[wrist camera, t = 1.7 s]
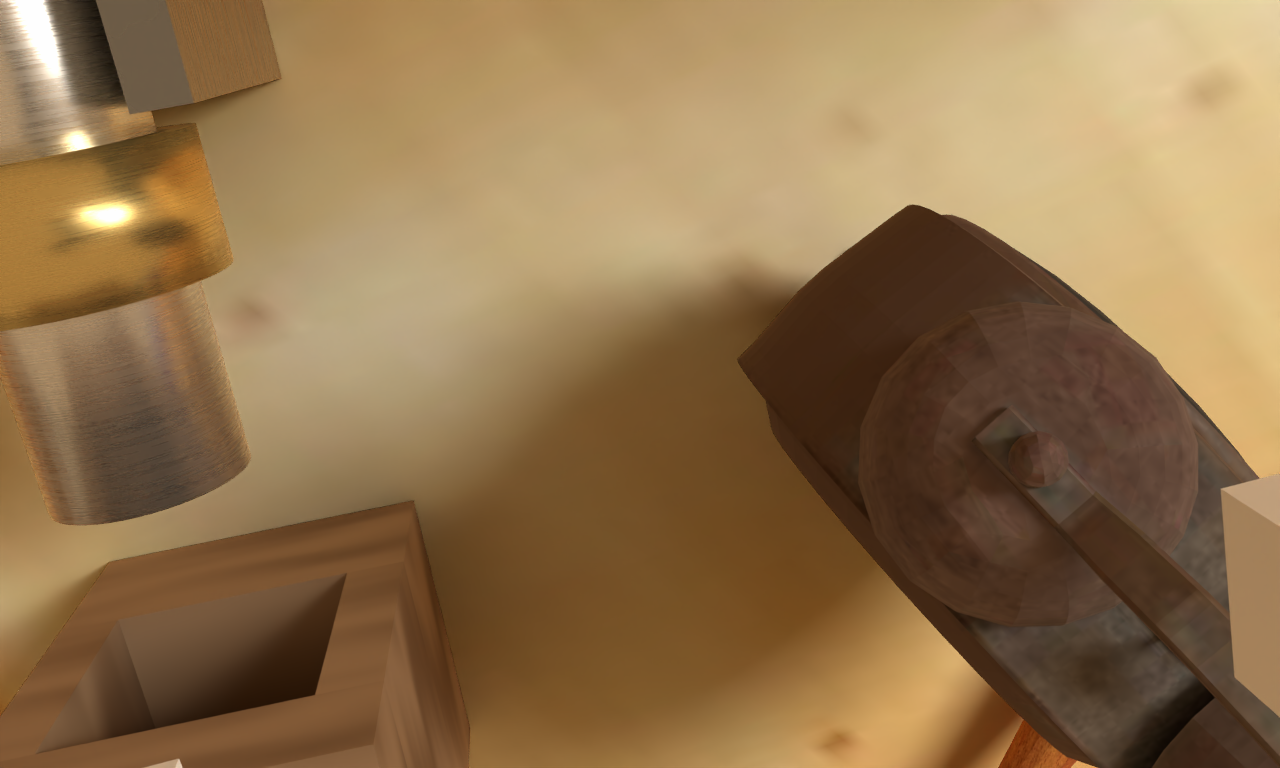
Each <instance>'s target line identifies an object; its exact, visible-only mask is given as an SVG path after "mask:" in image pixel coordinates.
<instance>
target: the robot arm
mask: <svg viewBox="0 0 1280 768" xmlns="http://www.w3.org/2000/svg"><path fill="white" fill-rule="evenodd" d="M1221 500H1222V513H1223V527H1224V541H1225V554H1226V568H1227V582H1228V595H1229V609H1230V623H1231V636H1232V650H1233V664H1234V677H1235V678H1236V679H1237V680H1238V681H1239V682H1240V683H1241V684H1243V685H1244V686H1245V687H1246V688H1247V689H1248V690H1249V691H1251V692H1252V693H1253V694H1254V695H1255V696H1256V697H1257V698H1258V699H1260V700H1261V701H1262V702H1263V703H1264V704H1265V705H1266V706H1267V707H1269V708H1270V709H1271V710H1272V711H1273V712H1274V713H1275V714H1277V715H1278V716H1279V717H1280V474H1276V475H1272V476H1268V477H1264V478H1260V479H1256V480H1253V481H1249V482H1245V483H1241V484H1237V485H1233V486H1229V487H1226V488H1222V489H1221ZM144 768H183V767H182V765H181V762H180V760H179V759H175V760H171V761H167V762H163V763H160V764H156V765H152V766H148V767H144Z"/></svg>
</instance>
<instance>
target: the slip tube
mask: <svg viewBox="0 0 1280 768" xmlns="http://www.w3.org/2000/svg"><path fill="white" fill-rule="evenodd" d="M232 262H233V255H232V252H231V248H230V245H229V241H228V237H227V234H226V230H225V227H224V223H223V220H222V216H221V212H220V209H219V205H218V202H217V198H216V194H215V191H214V187H213V184H212V180H211V177H210V173H209V169H208V166H207V162H206V159H205V155H204V152H203V148H202V144H201V141H200V137H199V134H198V130H197V126H196V123H187V124H178V125H170V126H163V127H156V126H155V122H154V119H153V115H152V112H151V111H147V112H141V113H136V114H129V111H128V107H127V104H126V101H125V97H124V94H123V90H122V87H121V84H120V80H119V77H118V74H117V70H116V67H115V63H114V60H113V57H112V53H111V50H110V46H109V43H108V40H107V36H106V33H105V30H104V26H103V23H102V19H101V16H100V13H99V9H98V6H97V2H96V0H0V377H1V380H2V383H3V386H4V389H5V391H6V394H7V397H8V400H9V403H10V406H11V408H12V411H13V414H14V417H15V420H16V423H17V425H18V428H19V431H20V434H21V437H22V440H23V442H24V445H25V448H26V451H27V454H28V457H29V460H30V462H31V465H32V468H33V471H34V474H35V477H36V479H37V482H38V485H39V488H40V491H41V494H42V496H43V499H44V502H45V505H46V508H47V511H48V514H49V516H50V518H51V519H53V520H54V521H56V522H59V523H62V524H68V525H95V524H104V523H111V522H117V521H123V520H127V519H132V518H136V517H140V516H144V515H148V514H152V513H155V512H158V511H162V510H165V509H168V508H171V507H174V506H177V505H180V504H182V503H185V502H187V501H190V500H192V499H195V498H197V497H199V496H202V495H204V494H206V493H208V492H210V491H212V490H214V489H216V488H218V487H220V486H221V485H223V484H225V483H227V482H228V481H230V480H231V479H233V478H234V477H235V476H237V475H238V474H239V473H240V472H242V471H243V470H244V469H245V468H246V466H247V465H248V464H249V462H250V459H251V453H250V450H249V446H248V443H247V440H246V436H245V433H244V429H243V426H242V422H241V419H240V415H239V412H238V408H237V405H236V402H235V398H234V395H233V391H232V388H231V384H230V381H229V377H228V374H227V371H226V367H225V364H224V360H223V357H222V353H221V350H220V346H219V343H218V339H217V336H216V333H215V329H214V326H213V322H212V319H211V315H210V312H209V308H208V305H207V302H206V298H205V295H204V291H203V288H202V284H201V280H203V279H206V278H208V277H210V276H212V275H215V274H217V273H219V272H220V271H222V270H224V269H226V268H227V267H228V266H230V265H231V264H232Z"/></svg>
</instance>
